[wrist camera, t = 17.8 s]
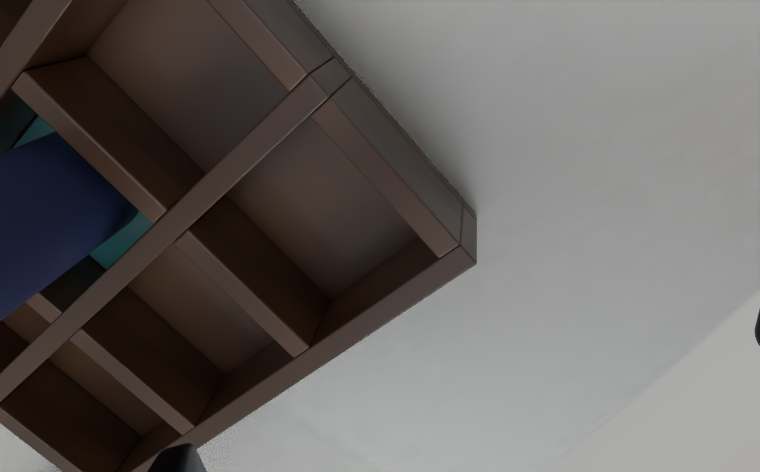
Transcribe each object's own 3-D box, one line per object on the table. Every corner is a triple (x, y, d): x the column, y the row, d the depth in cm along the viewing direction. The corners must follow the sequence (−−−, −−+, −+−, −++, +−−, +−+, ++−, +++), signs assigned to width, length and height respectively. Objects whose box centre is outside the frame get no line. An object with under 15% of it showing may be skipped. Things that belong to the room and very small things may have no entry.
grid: (477, 215, 20) (477, 264, 16) (150, 445, 27) (108, 508, 24) (13, -324, 15) (-109, -398, 12) (-221, 139, 23) (-332, 167, 20)
